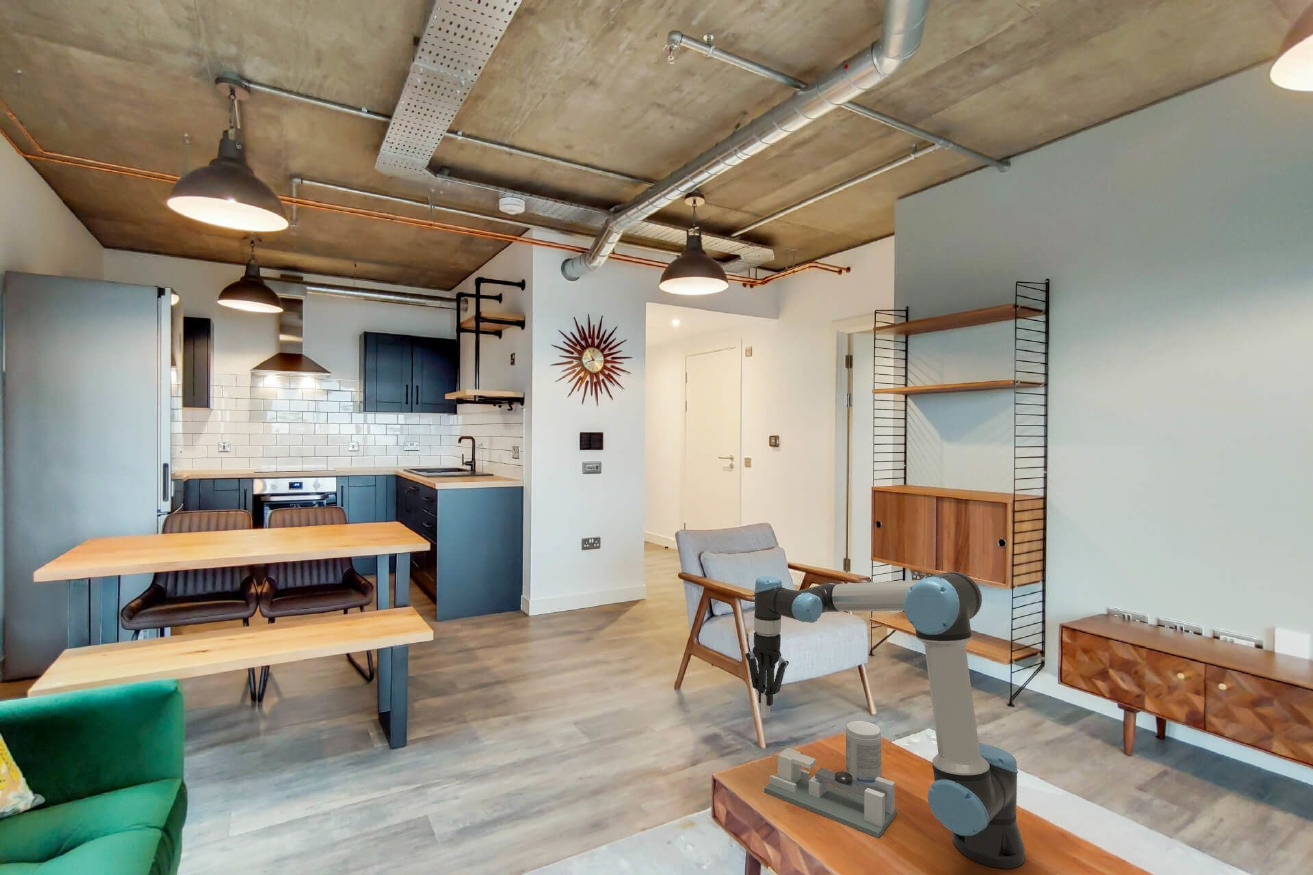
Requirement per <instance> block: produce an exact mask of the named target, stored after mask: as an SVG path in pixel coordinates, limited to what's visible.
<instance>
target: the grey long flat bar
mask: <svg viewBox="0 0 1313 875" xmlns="http://www.w3.org/2000/svg"><path fill="white" fill-rule="evenodd" d="M814 775H815V779H818V780H821V781H823V782H826V783H827V784H828V785H831V786H834V787H836V788H839V789H842V790H845V791H847V792H850V793H853V794H856V795H858V796H861V797H864V794H865V790H866V789H867V788H870V789H872V790H875V791H878V792H881V793H884V794H885V798H886V797H887V792H886V791H884V790H881V789H878V788H876V787H873V786H870V785H868V784H865V783H862V782H860V781H857V780H854V779H852V778H853V777H852V775H851V774H849V773H847V772H846V771H841V770H840V771H836V772H835V771H832V770H830V769H827V768H825V767H820V768H819V769H818V770H817V771H816V772H815V773H814Z"/></svg>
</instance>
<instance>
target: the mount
mask: <svg viewBox="0 0 1313 875" xmlns="http://www.w3.org/2000/svg"><path fill="white" fill-rule="evenodd" d="M875 787H876V788H878V789H881V790H884V791H886V792H887V797H886V798H885V794H884V793H881V792H878V791H875V790H872V789H870V788H867V789H866V790H865V794H864V797H862V796H859V795H857V794H854V793H851V792H849V791H846V790H844V789H841V788H839V787H836V786H833V785H831V784H828V783H826V782H823V781H821V780H818V779H815V774H814V775H813V776H812V777H811V771H807V770H805V769H802V768H801V779H800V780H799V781H798V782H797V783H796V784H795V783H792V782H789V781H787V780H784V779H781V778H779V777H777V776H775V775H773V774H771V775H770V776H769V784H767V785H765V787H763V789H764V791H763V792H764V793H765V794H767V795H770V796H773V797H775V798H778V799H780V800H783V801H785V802H788V803H790V804H792V805H795V806H797V807H800V808H802V809H805V810H807V811H810V812H813V813H815V814H818V815H820V816H823V817H824V818H825V817H826V818H827V819H830V820H833V821H835V822H837V823H839V824H843V825H845V826H847V827H849V828H852V829H855V830H857V831H859V832H862V833H865V834H866V835H869V836H872V837H875V838H877V839H880V838H881V836H882V835H883V833H884V832H885V831H886V829H887V828H888V827H889V825H890V824H891V823H892V821H893V820H894V819H895V817H896V816H897V815H898V809H896V806H895V805H896V804H895V803H896V802H895V800H896V797H895V796H896V782H895V781H893V780H890V779H886V778H883V777H882V776H881V777H877V778H876V779H875Z"/></svg>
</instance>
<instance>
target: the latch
mask: <svg viewBox="0 0 1313 875" xmlns="http://www.w3.org/2000/svg"><path fill="white" fill-rule="evenodd" d="M816 764H817V758H814V757H812V756H809V755H806V754H803V753H802V752H801V751H799V750H795V749H794V748H790V747H787V748H785V749H784V750H783V751H781V752H780V753H778V755H777V773H776V774H777V776H776V777H779V778H781V779H784V780H787V781H789V782H792V783H795V784H796V783H797V782H798V781H799V780H800V779H801V769H802V768H806V769H809V770H811V769H812V768H813V767H814V766H815V765H816Z"/></svg>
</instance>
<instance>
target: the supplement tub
mask: <svg viewBox="0 0 1313 875" xmlns="http://www.w3.org/2000/svg"><path fill="white" fill-rule="evenodd" d="M845 772H847V773H849V774H851V775H852V777H853V778H852V779H854V780H857V781H860V782H862V783H865V784H868V785H870V786H873V787H875V779H876V778H877V777H881V778H882V733H881V728H880V727H879V726H878V725H877V724H875V723H872V722H868V721H863V720H854V721H850V722H848V723H847V724H846V726H845Z"/></svg>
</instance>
